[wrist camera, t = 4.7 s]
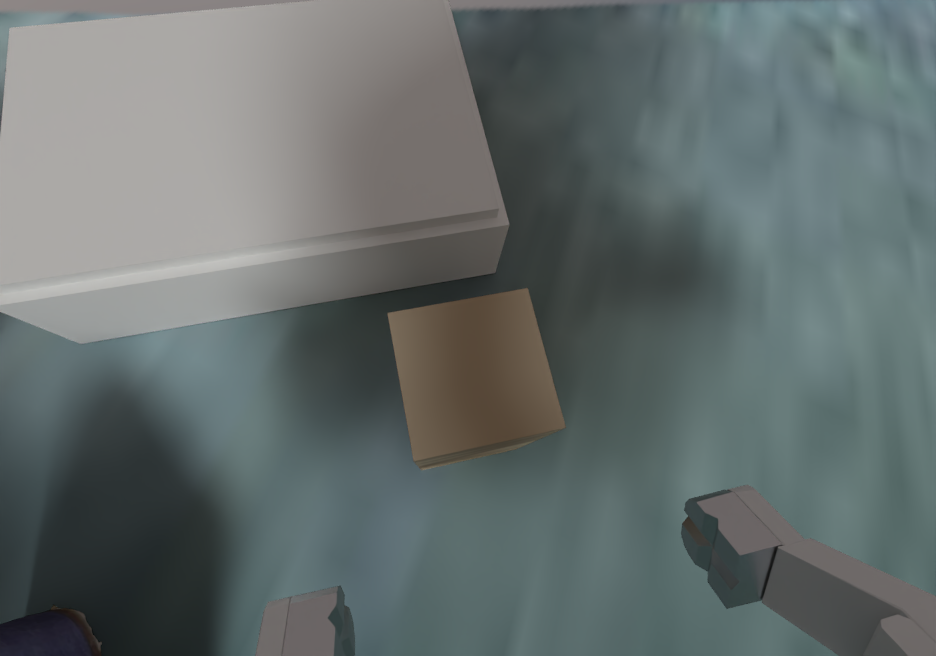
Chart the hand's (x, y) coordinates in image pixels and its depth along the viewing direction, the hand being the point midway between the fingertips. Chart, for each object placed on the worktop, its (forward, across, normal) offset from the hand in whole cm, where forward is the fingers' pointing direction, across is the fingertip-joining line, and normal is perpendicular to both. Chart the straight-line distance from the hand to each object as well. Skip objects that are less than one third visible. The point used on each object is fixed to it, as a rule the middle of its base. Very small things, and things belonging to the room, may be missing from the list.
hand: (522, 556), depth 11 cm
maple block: (+9, 0, +3) cm, 10 cm away
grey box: (+18, +6, -6) cm, 20 cm away
